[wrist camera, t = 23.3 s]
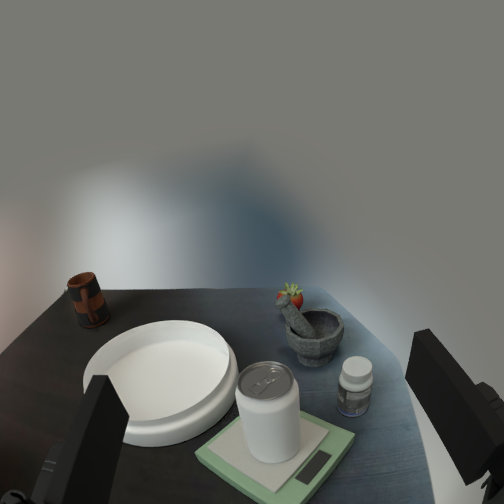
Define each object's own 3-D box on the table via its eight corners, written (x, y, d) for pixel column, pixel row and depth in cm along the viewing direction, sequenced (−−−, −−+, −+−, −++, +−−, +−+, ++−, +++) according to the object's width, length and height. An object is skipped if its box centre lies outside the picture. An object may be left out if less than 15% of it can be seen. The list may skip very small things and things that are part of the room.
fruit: (300, 326, 62) (298, 291, 59) (275, 323, 64) (271, 289, 62) (306, 312, 67) (305, 279, 64) (282, 310, 69) (279, 277, 66)
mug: (82, 340, 65) (64, 296, 61) (79, 317, 75) (65, 277, 70) (115, 328, 69) (99, 284, 64) (108, 307, 78) (95, 267, 74)
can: (311, 440, 34) (311, 373, 30) (276, 474, 30) (266, 414, 25) (273, 417, 38) (263, 350, 34) (237, 446, 34) (218, 382, 30)
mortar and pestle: (344, 340, 56) (346, 283, 52) (340, 375, 48) (342, 314, 43) (285, 337, 60) (280, 282, 55) (273, 370, 52) (266, 311, 47)
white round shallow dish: (169, 477, 33) (156, 457, 31) (66, 399, 47) (53, 377, 45) (269, 361, 54) (266, 337, 52) (160, 327, 68) (153, 306, 66)
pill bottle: (337, 394, 44) (339, 354, 41) (367, 394, 43) (373, 353, 40) (336, 418, 40) (339, 378, 37) (369, 417, 39) (376, 377, 36)
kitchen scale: (353, 443, 35) (356, 430, 34) (289, 521, 26) (288, 514, 25) (266, 402, 45) (264, 389, 44) (198, 461, 35) (192, 449, 34)
